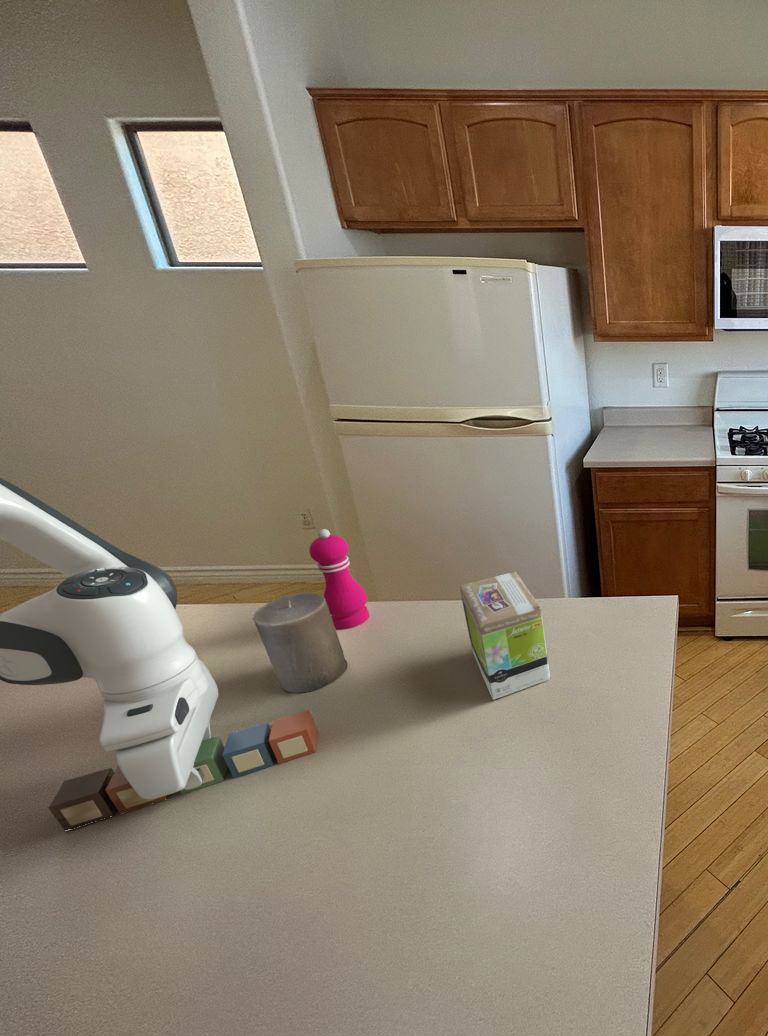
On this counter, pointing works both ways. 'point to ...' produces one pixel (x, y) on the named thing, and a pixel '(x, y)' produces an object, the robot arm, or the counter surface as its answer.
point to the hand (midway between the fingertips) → (201, 767)
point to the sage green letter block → (210, 762)
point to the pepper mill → (339, 581)
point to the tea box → (505, 633)
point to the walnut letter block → (83, 800)
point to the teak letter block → (126, 794)
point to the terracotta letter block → (293, 736)
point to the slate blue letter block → (249, 750)
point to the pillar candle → (301, 641)
